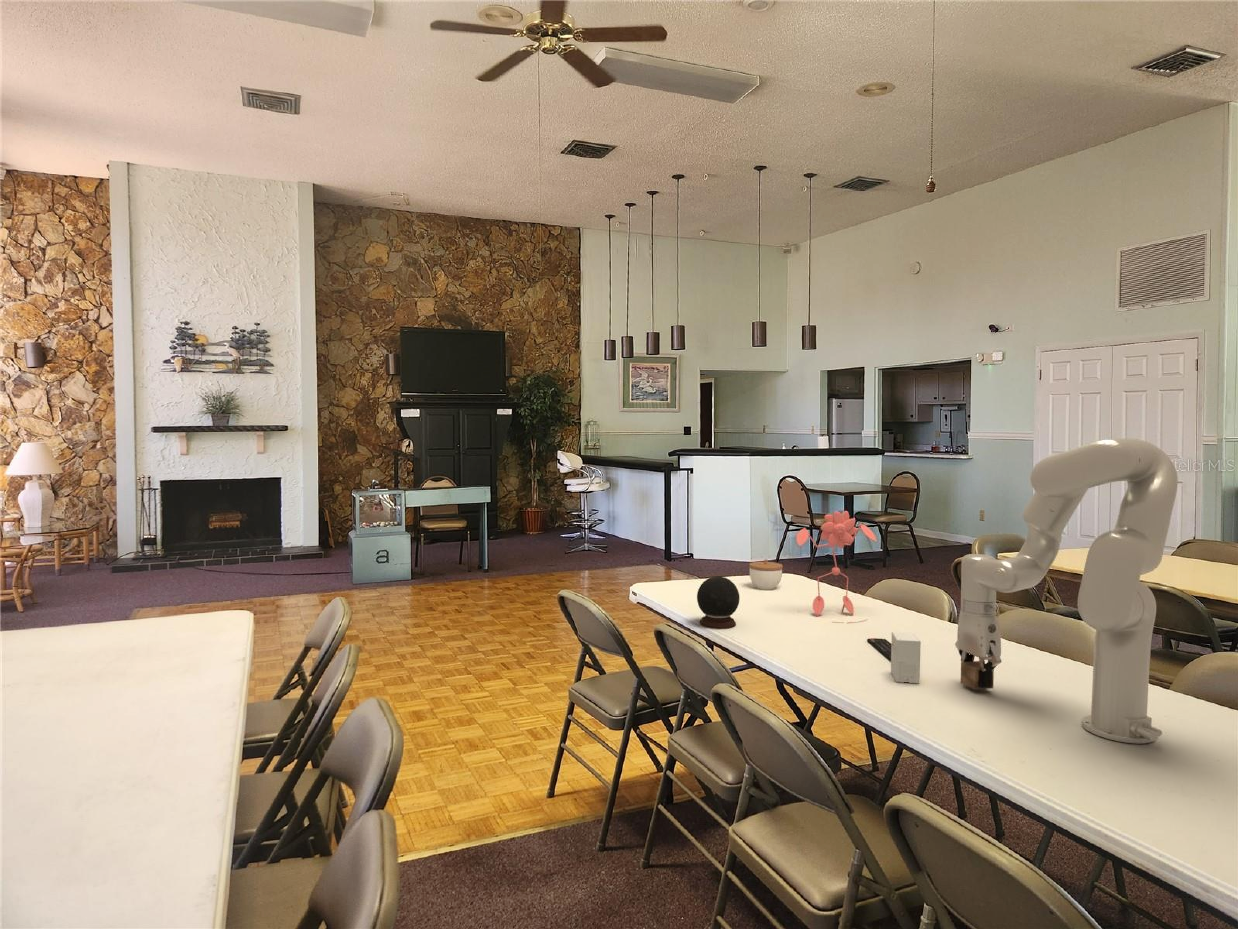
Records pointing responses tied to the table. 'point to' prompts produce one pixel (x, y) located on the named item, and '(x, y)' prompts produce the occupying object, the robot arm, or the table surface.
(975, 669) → the walnut cube
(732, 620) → the black ball on stand
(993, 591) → the robot arm
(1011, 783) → the table surface
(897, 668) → the small box
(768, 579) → the lidded bowl
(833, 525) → the pink flower doll
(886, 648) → the remote control
